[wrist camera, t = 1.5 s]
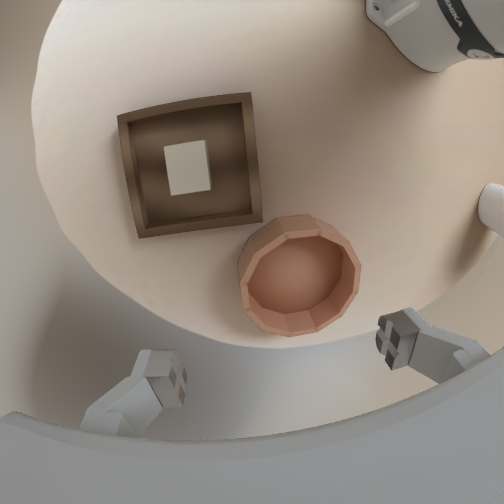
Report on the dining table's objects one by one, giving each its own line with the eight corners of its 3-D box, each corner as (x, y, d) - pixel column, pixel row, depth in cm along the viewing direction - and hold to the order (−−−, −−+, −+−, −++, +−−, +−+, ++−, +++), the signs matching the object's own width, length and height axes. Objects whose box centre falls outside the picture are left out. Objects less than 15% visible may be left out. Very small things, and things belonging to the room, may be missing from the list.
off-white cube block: (170, 145, 27) (163, 146, 24) (206, 139, 27) (204, 139, 24) (176, 188, 29) (171, 195, 26) (211, 183, 29) (210, 189, 26)
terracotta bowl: (232, 223, 32) (234, 238, 28) (346, 210, 33) (364, 223, 29) (244, 319, 39) (248, 343, 34) (340, 304, 39) (353, 324, 35)
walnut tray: (126, 116, 26) (117, 115, 23) (248, 96, 26) (250, 92, 24) (145, 229, 32) (139, 238, 29) (259, 214, 32) (262, 222, 30)
